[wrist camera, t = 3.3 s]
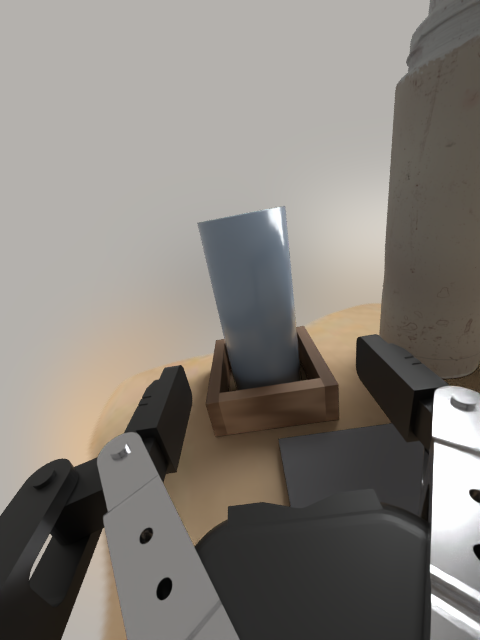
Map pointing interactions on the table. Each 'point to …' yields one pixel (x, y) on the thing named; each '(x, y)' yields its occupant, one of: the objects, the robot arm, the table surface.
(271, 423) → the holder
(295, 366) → the jug
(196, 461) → the table surface
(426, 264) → the thermos bottle
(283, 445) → the mat
